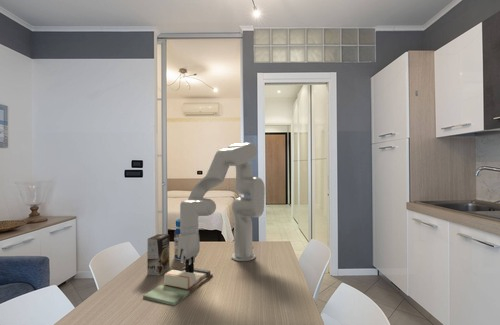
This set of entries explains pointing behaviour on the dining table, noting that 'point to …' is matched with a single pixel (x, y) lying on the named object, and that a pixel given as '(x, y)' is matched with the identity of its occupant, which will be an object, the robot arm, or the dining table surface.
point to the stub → (179, 279)
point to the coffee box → (158, 254)
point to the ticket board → (177, 289)
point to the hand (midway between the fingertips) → (189, 273)
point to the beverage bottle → (176, 239)
